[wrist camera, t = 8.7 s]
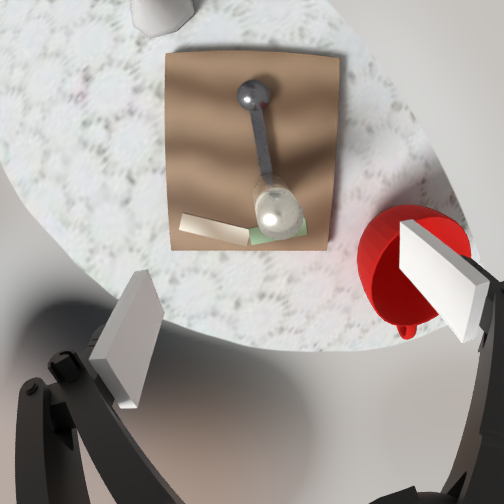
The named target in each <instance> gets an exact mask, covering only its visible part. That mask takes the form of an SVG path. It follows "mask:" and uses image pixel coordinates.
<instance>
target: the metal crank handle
mask: <svg viewBox="0 0 504 504" xmlns="http://www.w3.org/2000/svg"><path fill="white" fill-rule="evenodd" d="M269 99H270V92H269V89H268V87H267V86H266V85H265V84H264V83H263V82H261V81H259V80H248V81H246V82H244V83H243V84H241V86H240V87H239V88H238V91H237V100H238V103H239V104H240V106H241V107H243V108H244V109H246V110H248V111H250V117H251V122H252V128H253V134H254V139H255V145H256V151H257V157H258V163H259V168H260V174H261V176H260V177H259V178H258V179H257V180H256V181H255V182H254V184H253V187H252V195H253V201H254V206H255V212H256V217H257V223H258V226H259V228H260V230H261V231H262V233H263V234H264V235H266V236H267V237H269V238H271V239H275V240H284V239H288V238H290V237H292V236H294V235H295V234H296V233H297V232H298V231H299V230H300V228H301V226H302V224H303V219H304V214H303V210H302V208H301V206H300V204H299V203H298V201H297V200H296V198H295V197H294V195H293V194H292V192H291V191H290V189H289V188H288V187H287V185H286V184H285V182H284V181H283V180H282V178H280V177H279V176H277V175H274V174H273V173H272V166H271V160H270V154H269V148H268V142H267V136H266V130H265V124H264V118H263V112H262V108H264V107H265V106H266V105H267V104H268V102H269Z"/></svg>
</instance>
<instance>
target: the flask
mask: <svg viewBox="0 0 504 504" xmlns="http://www.w3.org/2000/svg"><path fill="white" fill-rule="evenodd" d="M131 13H132V20H133V26H134V27H135V28H137V29H138V30H140V31H141V32H142V33H144V34H145V35H146V36H148V37H149V38H154V37H158V36H161V35H165V34H169V33H173V32H176V31H177V30H178V29H179V28H180V27H181V26H182V25H183V24H184V23H185V22H186V21H187V20H188V19H190V18H191V17H192V16H193V15H194V14H195V13H194V7H193V2H192V0H131Z"/></svg>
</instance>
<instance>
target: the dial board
mask: <svg viewBox="0 0 504 504" xmlns="http://www.w3.org/2000/svg"><path fill="white" fill-rule="evenodd" d="M339 75H340V58H335V57H328V56H320V55H311V54H301V53H289V52H273V51H244V50H222V51H193V52H178V53H166V56H165V155H166V180H167V199H168V215H169V229H170V242H171V250H246V251H327V244H328V236H329V227H330V217H331V207H332V197H333V185H334V173H335V160H336V145H337V128H338V107H339ZM248 80H259V81H261V82H263V83H264V84H265V85H266V86H267V87H268V89H269V92H270V99H269V102H268V104H267V105H266V106H265V107H264V108H262V112H263V118H264V124H265V130H266V136H267V142H268V148H269V154H270V160H271V166H272V173H273V174H274V175H277V176H279V177H280V178H282V180H283V181H284V182H285V184H286V185H287V187H288V188H289V189H290V191H291V192H292V194H293V195H294V197H295V198H296V200H297V201H298V203H299V204H300V206H301V208H302V210H303V214H304V219H303V224H302V226H301V228H300V230H299V231H298V232H297V233H296V234H295V235H294V236H292V237H290V238H288V239H284V240H275V239H271V238H269V237H267V236H266V235H264V234H263V233H262V231H261V230H260V228H259V226H258V223H257V217H256V212H255V206H254V201H253V195H252V187H253V184H254V182H255V181H256V180H257V179H258V178H259V177H260V176H261V174H260V168H259V163H258V157H257V151H256V145H255V139H254V134H253V128H252V122H251V117H250V111H248V110H246V109H244V108H243V107H241V106H240V104H239V103H238V100H237V91H238V88H239V87H240V86H241V84H243V83H244V82H246V81H248Z"/></svg>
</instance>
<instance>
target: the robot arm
mask: <svg viewBox="0 0 504 504" xmlns="http://www.w3.org/2000/svg"><path fill="white" fill-rule="evenodd" d="M399 268H400V269H401V271H402V272H403V273H404V274H405V275H406V276H407V277H408V278H409V280H410V281H411V282H412V283H413V284H414V285H415V286H416V288H417V289H418V290H419V291H420V292H421V293H422V294H423V296H424V297H425V298H426V299H427V300H428V302H429V303H430V304H431V305H432V306H433V308H434V309H435V310H436V311H437V312H438V314H439V315H440V316H441V317H442V318H443V320H444V321H445V322H446V323H447V325H448V326H449V327H450V328H451V330H452V331H453V332H454V333H455V335H456V336H457V337H458V339H459V340H460V341H461V342H462V343H464V342H467V341H469V340H472V339H474V338H476V336H477V332H478V329H479V326H480V327H481V328H482V329H483V331H484V334H483V337H482V340H481V344H480V346H479V349H478V352H480V357H479V364H478V370H477V376H476V381H475V386H474V391H473V396H472V400H471V405H470V409H469V413H468V417H467V421H466V425H465V429H464V432H463V436H462V440H461V443H460V446H459V449H458V452H457V455H456V458H455V461H454V464H453V467H452V470H451V473H450V475H449V477H448V479H447V481H446V483H445V485H444V487H443V489H442V491H441V493H437V492H417V491H416V489H415V486H412V487H409V488H407V489H404V490H401V491H398V492H395V493H392V494H389V495H386V496H383V497H380V498H378V499H376V500H375V501H373V502H371V503H369V504H504V281H503V282H499V281H498V280H497V279H495V278H494V277H493V276H492V275H491V274H490V273H488V272H487V271H486V270H485V269H483V268H482V267H481V266H480V265H478V263H476V262H475V261H474V260H473V259H471V258H469V257H467V256H464V255H458V254H457V253H456V252H455V251H453V250H452V249H451V248H450V247H448V246H447V245H446V244H445V243H443V242H442V241H441V240H439V239H438V238H437V237H436V236H434V235H433V234H432V233H430V232H429V231H428V230H426V229H425V228H424V227H422V226H421V225H419V224H418V223H417V222H415V221H414V220H413V219H411V220H406V221H400V264H399ZM163 316H164V311H163V308H162V306H161V303H160V300H159V298H158V295H157V293H156V290H155V287H154V285H153V282H152V279H151V276H150V274H149V271H148V269H147V270H141V271H136V272H134V274H133V276H132V277H131V279H130V281H129V283H128V285H127V286H126V288H125V290H124V292H123V294H122V295H121V297H120V299H119V301H118V303H117V305H116V307H115V308H114V310H113V312H112V314H111V316H110V318H109V320H108V322H107V324H103V325H101V326H100V327H99V328H98V329H97V330H96V331H95V332H94V334H93V336H92V337H91V341H89V343H88V345H87V347H86V349H85V351H84V353H83V355H82V356H81V358H79V357H78V355H77V353H76V352H75V351H74V350H72V349H65V350H62V351H60V352H58V353H57V354H55V355H54V356H53V357H52V358H51V359H50V361H49V363H48V369H49V371H50V372H51V374H52V375H53V376H54V378H55V379H56V381H57V383H53V384H50V385H46V384H45V383H44V381H43V380H42V379H41V378H37V377H36V378H32V379H30V380H28V381H26V382H25V383H24V384H23V386H22V387H21V389H20V392H19V400H18V410H17V423H16V442H15V482H16V500H17V504H90V500H89V495H88V491H87V486H86V481H85V476H84V471H83V466H82V461H81V455H80V448H79V442H78V435H77V430H78V432H79V434H80V436H81V438H82V441H83V443H84V445H85V447H86V449H87V451H88V453H89V455H90V457H91V459H92V461H93V463H94V465H95V467H96V469H97V470H98V472H99V474H100V476H101V478H102V479H103V481H104V483H105V485H106V486H107V488H108V490H109V492H110V493H111V495H112V497H113V498H114V499H115V501H116V503H117V504H185V503H184V502H183V501H182V500H181V498H180V497H179V496H178V495H177V494H176V493H175V492H174V490H173V489H172V488H171V487H170V486H169V484H168V483H167V482H166V481H165V479H164V478H163V477H162V476H161V475H160V473H159V472H158V471H157V470H156V468H155V467H154V466H153V464H152V463H151V462H150V460H149V459H148V458H147V457H146V455H145V454H144V452H143V451H142V450H141V448H140V447H139V446H138V444H137V443H136V441H135V440H134V438H133V437H132V436H131V434H130V433H129V431H128V430H127V428H126V427H125V426H124V424H123V422H122V421H121V419H120V418H119V417H118V415H117V413H116V412H115V410H114V409H113V408H112V405H113V402H114V399H115V401H116V402H117V404H118V405H119V406H120V408H137V407H138V403H139V399H140V396H141V392H142V388H143V384H144V380H145V377H146V374H147V370H148V366H149V363H150V359H151V356H152V353H153V349H154V346H155V342H156V339H157V336H158V332H159V329H160V326H161V323H162V319H163Z"/></svg>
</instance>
